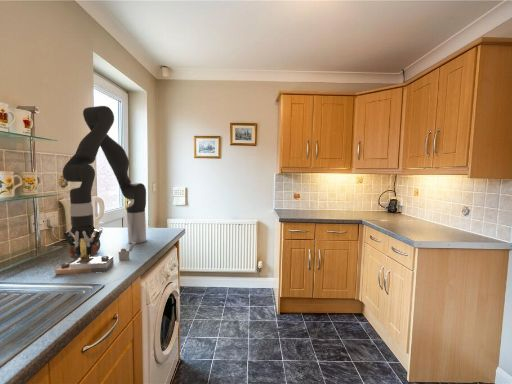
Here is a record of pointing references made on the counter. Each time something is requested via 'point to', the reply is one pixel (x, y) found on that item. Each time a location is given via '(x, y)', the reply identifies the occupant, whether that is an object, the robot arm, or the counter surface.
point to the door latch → (86, 265)
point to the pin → (83, 249)
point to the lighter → (125, 252)
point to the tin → (95, 250)
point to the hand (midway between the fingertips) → (84, 254)
